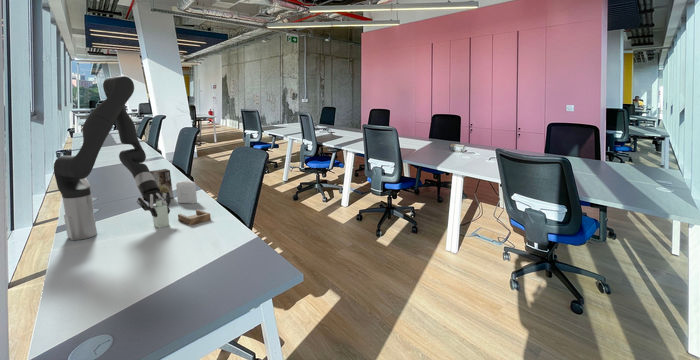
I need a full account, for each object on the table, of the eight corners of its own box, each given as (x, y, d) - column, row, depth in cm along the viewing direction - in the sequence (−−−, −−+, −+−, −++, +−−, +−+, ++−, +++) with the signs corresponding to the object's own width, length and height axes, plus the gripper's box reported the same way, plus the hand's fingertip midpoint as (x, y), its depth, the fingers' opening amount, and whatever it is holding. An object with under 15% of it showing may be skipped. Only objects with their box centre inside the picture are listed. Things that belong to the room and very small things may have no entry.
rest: (190, 225, 162) (189, 219, 161) (178, 220, 168) (177, 214, 167) (210, 219, 169) (210, 213, 169) (198, 215, 176) (198, 209, 175)
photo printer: (198, 202, 198) (196, 180, 196) (194, 204, 194) (192, 181, 192) (181, 201, 200) (179, 179, 197) (176, 203, 196) (174, 181, 193)
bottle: (158, 227, 158) (155, 200, 156) (153, 225, 161) (150, 198, 158) (169, 225, 162) (166, 198, 159) (164, 223, 165) (161, 196, 162)
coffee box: (168, 195, 211) (165, 168, 208) (173, 197, 208) (170, 169, 204) (152, 198, 205) (148, 170, 201) (157, 200, 201) (153, 172, 197)
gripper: (131, 182, 156) (147, 214, 151) (164, 176, 167) (180, 206, 162) (128, 192, 160) (143, 223, 156) (160, 186, 171) (176, 215, 167)
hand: (162, 214), depth 159 cm, fingers closed on bottle, 4 cm apart
